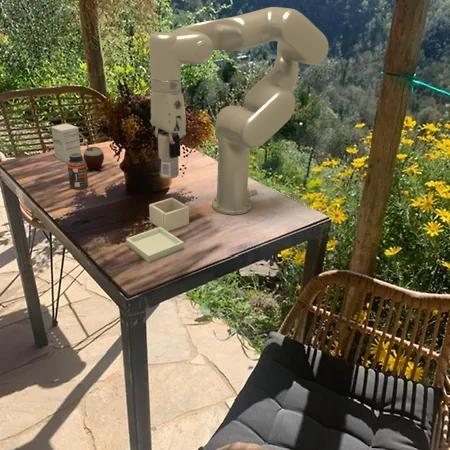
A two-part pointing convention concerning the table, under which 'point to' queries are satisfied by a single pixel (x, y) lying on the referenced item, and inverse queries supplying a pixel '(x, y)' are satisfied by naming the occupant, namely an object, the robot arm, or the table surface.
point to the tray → (154, 244)
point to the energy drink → (166, 157)
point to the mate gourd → (93, 157)
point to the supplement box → (65, 141)
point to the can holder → (169, 214)
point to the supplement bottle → (77, 171)
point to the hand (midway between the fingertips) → (168, 153)
